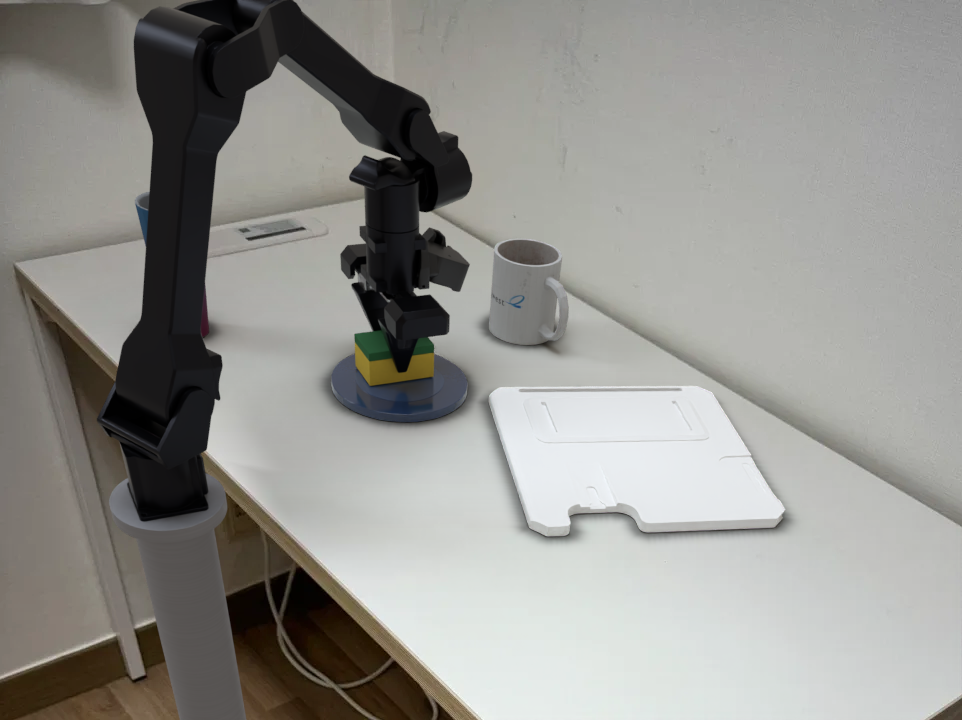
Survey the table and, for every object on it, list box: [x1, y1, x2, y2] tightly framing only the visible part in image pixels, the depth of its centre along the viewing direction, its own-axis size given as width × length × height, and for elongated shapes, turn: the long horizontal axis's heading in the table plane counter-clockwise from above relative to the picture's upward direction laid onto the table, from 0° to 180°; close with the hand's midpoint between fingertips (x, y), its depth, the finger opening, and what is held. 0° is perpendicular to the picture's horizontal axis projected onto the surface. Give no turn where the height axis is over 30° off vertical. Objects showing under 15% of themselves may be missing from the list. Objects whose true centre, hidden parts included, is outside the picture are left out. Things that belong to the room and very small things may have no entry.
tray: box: [488, 385, 786, 537], centre depth 110 cm, size 28×28×2 cm
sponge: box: [353, 330, 435, 386], centre depth 115 cm, size 8×5×4 cm, turn 117°
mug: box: [488, 237, 570, 346], centre depth 125 cm, size 12×9×10 cm
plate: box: [330, 353, 468, 423], centre depth 116 cm, size 16×16×1 cm
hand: (393, 361), depth 115 cm, fingers closed on sponge, 5 cm apart
